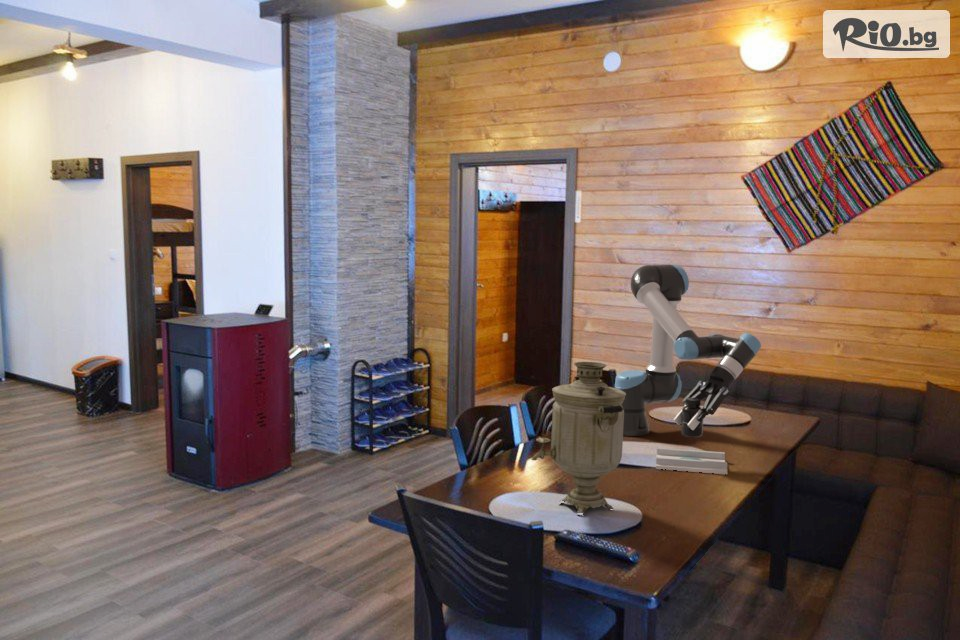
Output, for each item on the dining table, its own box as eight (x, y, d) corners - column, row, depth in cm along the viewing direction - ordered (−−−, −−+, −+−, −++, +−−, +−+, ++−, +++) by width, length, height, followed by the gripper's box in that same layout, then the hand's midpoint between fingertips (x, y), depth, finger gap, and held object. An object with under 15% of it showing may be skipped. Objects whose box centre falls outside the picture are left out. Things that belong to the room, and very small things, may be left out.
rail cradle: (656, 469, 239) (656, 459, 238) (656, 455, 254) (657, 446, 254) (727, 474, 233) (727, 464, 233) (723, 460, 249) (724, 451, 248)
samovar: (521, 489, 218) (523, 356, 214) (608, 487, 220) (611, 355, 216) (536, 528, 189) (538, 373, 184) (636, 525, 190) (640, 373, 186)
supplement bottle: (679, 436, 241) (680, 399, 240) (683, 431, 247) (684, 396, 246) (700, 438, 238) (701, 401, 237) (704, 433, 244) (705, 398, 243)
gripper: (752, 385, 237) (708, 439, 233) (712, 375, 255) (671, 425, 251) (739, 370, 235) (695, 424, 230) (700, 361, 253) (659, 411, 249)
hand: (683, 424), depth 241 cm, fingers closed on supplement bottle, 7 cm apart
